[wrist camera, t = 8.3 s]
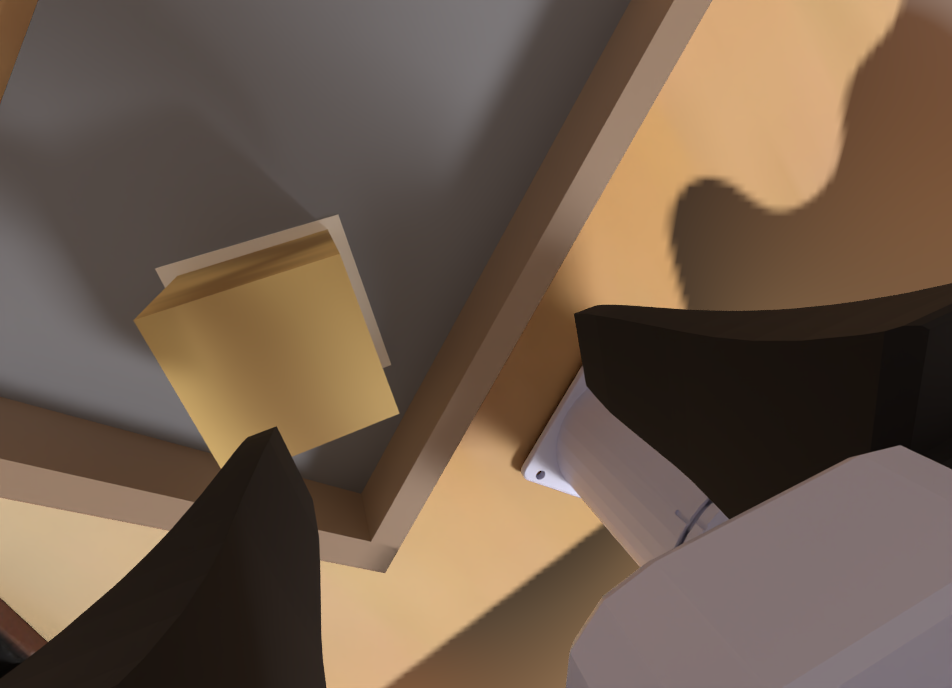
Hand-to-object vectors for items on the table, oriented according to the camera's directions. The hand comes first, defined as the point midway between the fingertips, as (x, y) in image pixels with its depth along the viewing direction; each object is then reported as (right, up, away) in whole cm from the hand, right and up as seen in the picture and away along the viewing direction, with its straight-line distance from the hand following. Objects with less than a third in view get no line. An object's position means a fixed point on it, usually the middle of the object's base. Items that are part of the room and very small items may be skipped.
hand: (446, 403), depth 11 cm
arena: (-5, +7, +6) cm, 11 cm away
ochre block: (-6, +2, +6) cm, 9 cm away
